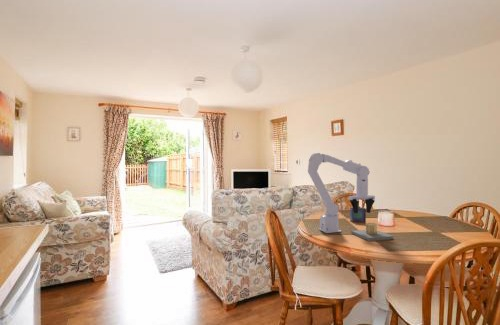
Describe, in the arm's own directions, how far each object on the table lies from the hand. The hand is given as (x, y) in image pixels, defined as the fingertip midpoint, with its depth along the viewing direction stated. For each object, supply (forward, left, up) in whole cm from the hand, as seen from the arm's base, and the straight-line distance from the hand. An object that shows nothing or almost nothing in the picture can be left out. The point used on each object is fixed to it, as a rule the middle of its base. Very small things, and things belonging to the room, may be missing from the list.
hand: (362, 212), depth 152 cm
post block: (-1, -9, -10) cm, 14 cm away
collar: (-1, -9, -9) cm, 12 cm away
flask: (+13, +22, -11) cm, 28 cm away
